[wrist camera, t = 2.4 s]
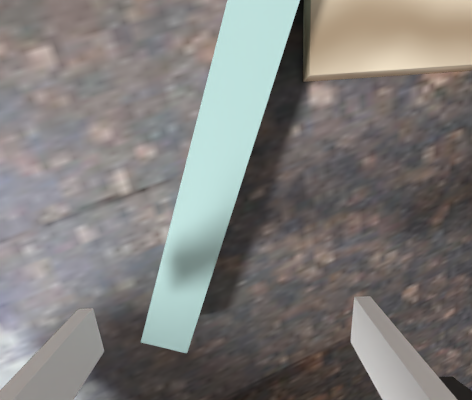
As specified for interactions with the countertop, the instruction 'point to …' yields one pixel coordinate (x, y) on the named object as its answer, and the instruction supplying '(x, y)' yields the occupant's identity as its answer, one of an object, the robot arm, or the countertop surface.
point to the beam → (217, 163)
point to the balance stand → (385, 38)
